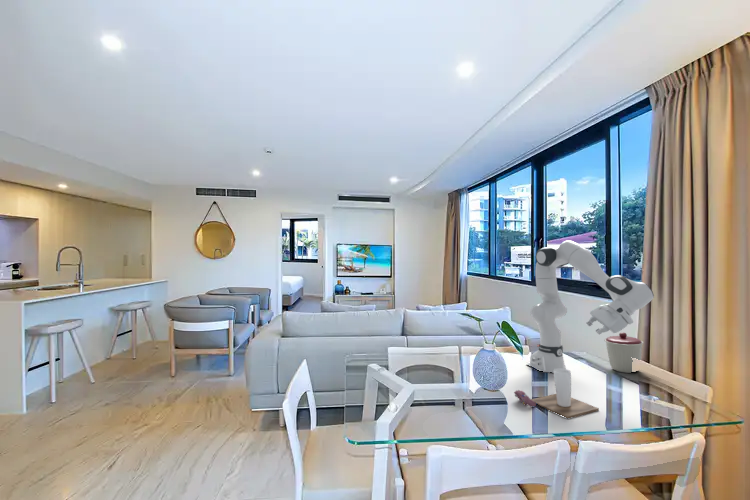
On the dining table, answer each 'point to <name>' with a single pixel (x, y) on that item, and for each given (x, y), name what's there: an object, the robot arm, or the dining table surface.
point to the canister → (623, 351)
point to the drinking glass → (563, 386)
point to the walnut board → (568, 412)
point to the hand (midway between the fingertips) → (592, 328)
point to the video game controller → (524, 398)
